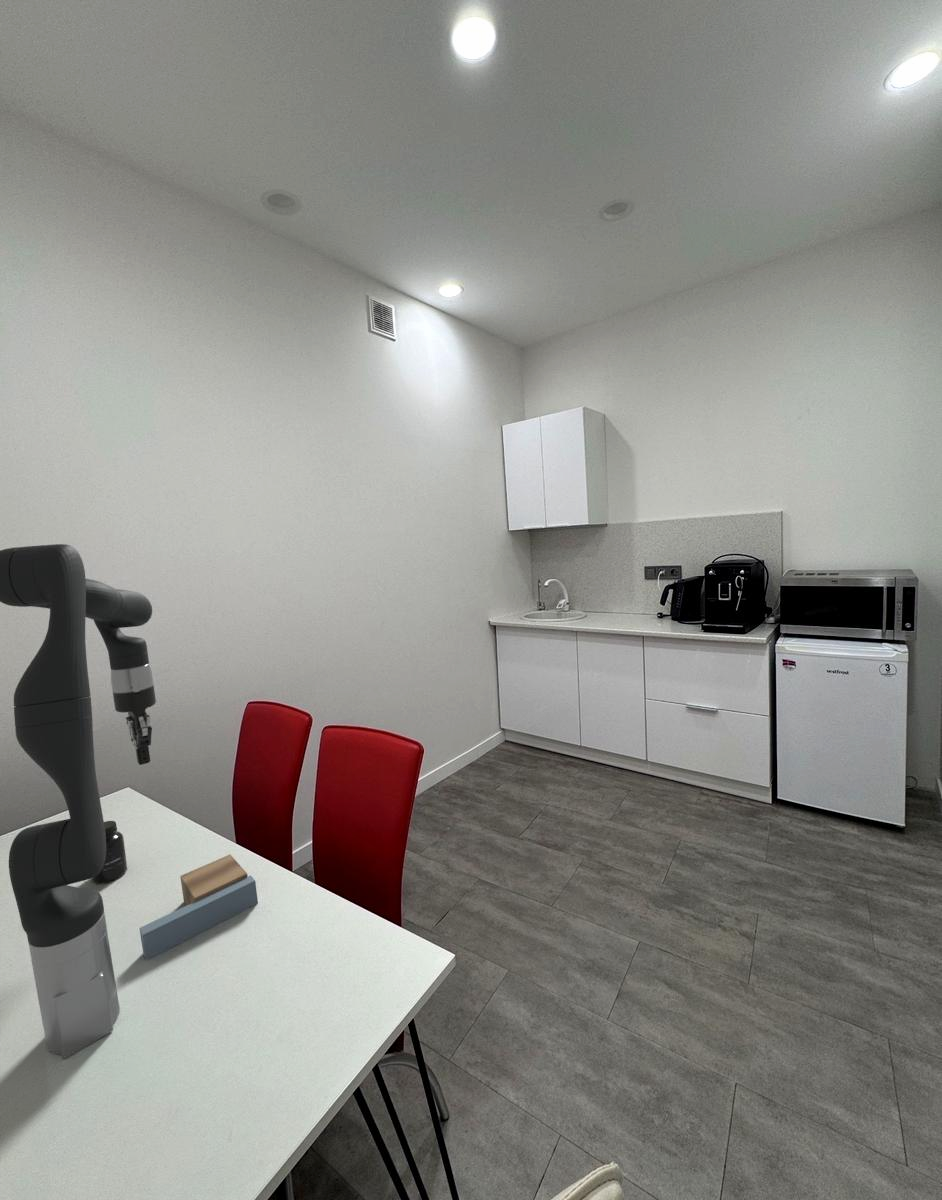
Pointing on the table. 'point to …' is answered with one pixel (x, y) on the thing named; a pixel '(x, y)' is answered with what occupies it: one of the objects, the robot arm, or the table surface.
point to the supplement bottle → (112, 855)
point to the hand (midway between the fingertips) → (144, 762)
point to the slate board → (197, 917)
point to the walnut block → (211, 878)
